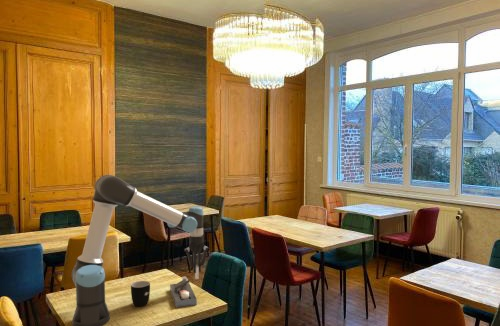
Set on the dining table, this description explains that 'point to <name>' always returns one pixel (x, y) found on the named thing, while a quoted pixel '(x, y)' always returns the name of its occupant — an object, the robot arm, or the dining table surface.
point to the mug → (140, 293)
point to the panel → (177, 296)
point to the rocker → (181, 283)
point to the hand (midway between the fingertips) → (197, 278)
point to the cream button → (184, 295)
